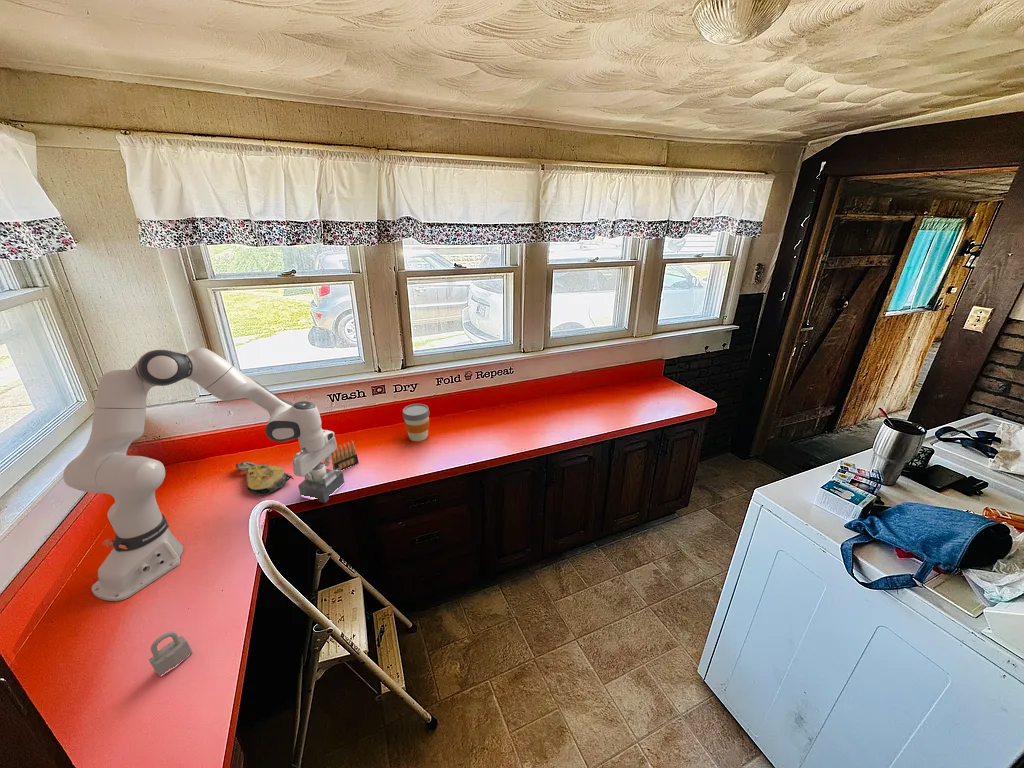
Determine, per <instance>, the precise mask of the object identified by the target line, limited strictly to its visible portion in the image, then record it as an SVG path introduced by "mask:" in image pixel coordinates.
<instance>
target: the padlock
mask: <svg viewBox="0 0 1024 768" xmlns="http://www.w3.org/2000/svg"><path fill="white" fill-rule="evenodd" d="M169 637H171V638H172V641H171V642H169V643H167V644H166V645H164V646H163V647H162V648H160V649H158V645H159V644H160V643H162V642H163V641H164V640H165V639H168V638H169ZM150 646H151V647H150V652H151V654H152V656H151V657H150V658H148V661H149V664H150V665H151V666H152V668H153V670H154V672H155V671H156V672H157V673H158V674H157V673H156V672H155V673H156V674H157V675H158V677H159V676H161V675H162V674H164V673H165V672H166V671H168V670H169V669H171V668H173V667H175V666H176V665H177V664H179V663H180V662H181V661H182V660H184V659H185V658H186V657H187V656H188V655H189V654H191V653H192V652H193V650H192V648H191V646H190V644H189V642H188V640H187V639H186V638H185V637H184V636H183V635H180V636H179V635H178V633H177V632H176V631H173V630H171V631H167V632H165V633H164V634H162V635H160V636H159V637H157V639H155V640H154V642H153V643H152V644H151V645H150ZM192 654H193V653H192ZM192 654H191V655H192Z"/></svg>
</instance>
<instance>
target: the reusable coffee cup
mask: <svg viewBox="0 0 1024 768" xmlns="http://www.w3.org/2000/svg"><path fill="white" fill-rule="evenodd" d="M430 413H431V412H430V409H429V406H428V405H426V404H423V403H413V404H409V405H407V406H405V407H404V408H403V409H402V418H403V420H404V421H403V422H404V426H405V430H406V432H407V433H408V438H409V440H411V441H412V442H422V441H424V440H427V438H428V436H429V427H430V417H429V416H430Z"/></svg>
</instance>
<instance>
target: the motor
mask: <svg viewBox="0 0 1024 768" xmlns="http://www.w3.org/2000/svg"><path fill="white" fill-rule="evenodd" d="M326 473H327V474H326V475H325V476H324V477H323V478H322V481H321V482H315V481H314V480H313V479H312V480H308V479H307V476H303V477H304V479H303V481H302V482H300V483H299V484H298V489H299V495H300V496H301V495H304V496H310V497H315V498H318V499H319V503H324V504H326V503H327V502H328V501H329V500H330V499H329V495H330V494H332V493H333V492H334V491H335V490H336V489H337V488H339V487H340V486H341V485H342V484H343V483H345V478H344V473H343V471H341V470H340V468H336V469H335V470H333V468H331V469H329V468H326ZM309 474H312V471H310V473H309ZM345 484H346V483H345Z"/></svg>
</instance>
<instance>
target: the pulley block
mask: <svg viewBox="0 0 1024 768" xmlns="http://www.w3.org/2000/svg"><path fill="white" fill-rule="evenodd" d="M235 467H236V469H237V470H240V471H242V472H246V475H245V476H246V482H245V483H246V489H247V490H248V491H250V493H251V494H253V495H259V496H260V497H262V498H263V499H266V497H265V496H264V495H268V494H270V493H272V492H274V491H275V490H277V489H280V488H283V486H284V485H285V484H286V483H288V481H289V480H290V479H292V480H295V478H294V477H293V475H290V473H287V472H285V470H284V468H283V467H280V466H277V465H271V464H264V463H261V464H260V463H257V464H256V463H254V462H251V461H241V462H237V463H235Z"/></svg>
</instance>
